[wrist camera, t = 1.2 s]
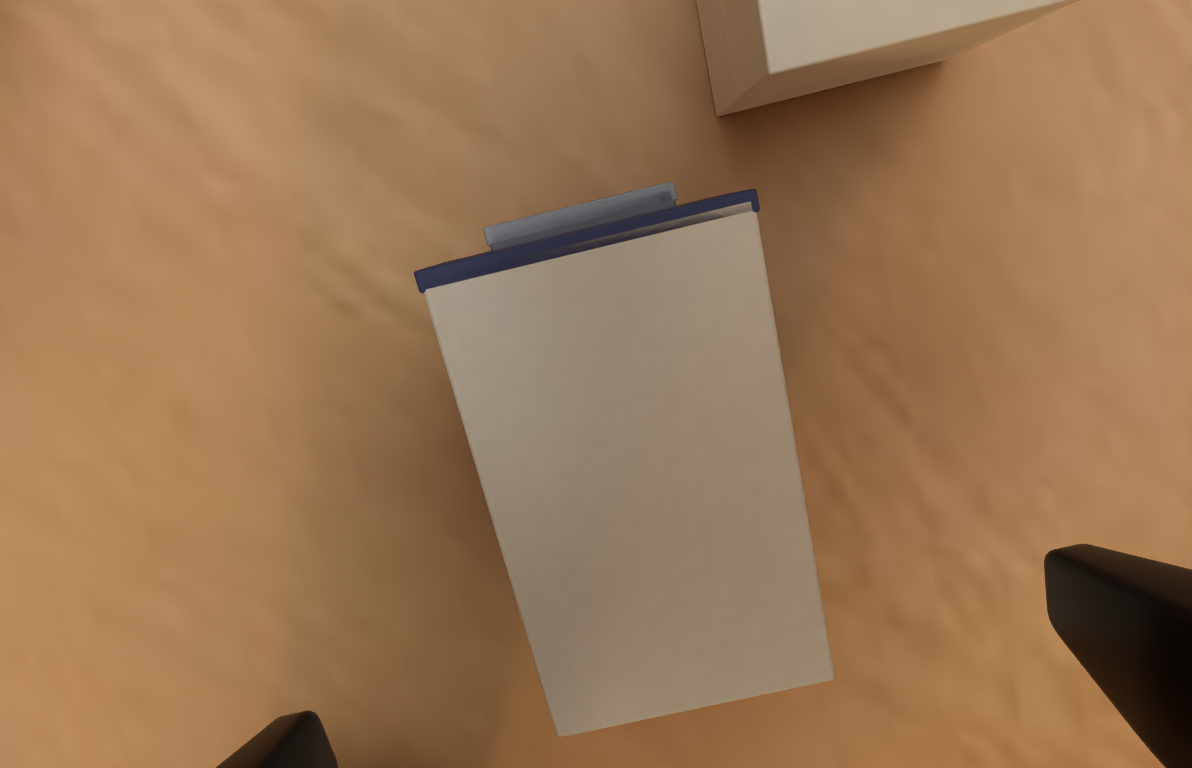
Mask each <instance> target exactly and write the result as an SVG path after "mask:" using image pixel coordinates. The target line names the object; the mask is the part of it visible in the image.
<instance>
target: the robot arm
mask: <svg viewBox="0 0 1192 768" xmlns="http://www.w3.org/2000/svg"><path fill="white" fill-rule="evenodd" d="M1044 570H1045V585H1046V599H1047V611H1048V615H1049V619H1050V621H1051V624H1052V626H1053V627H1054V629H1055V631H1056V632H1057V634H1058V635H1059V636H1060V638H1061V639H1062V640H1063V642H1064V643H1065V644H1066V645H1067V647H1068V648H1069V649H1070V650H1071V652H1072V653H1073V654H1074V655H1075V657H1076V658H1077V659H1078V661H1079V662H1080V663H1081V664H1082V666H1083V667H1084V668H1085V669H1086V671H1087V672H1088V673H1089V674H1090V676H1091V677H1092V678H1093V680H1094V681H1095V682H1096V683H1097V685H1098V686H1099V687H1100V688H1101V690H1102V691H1103V692H1104V693H1105V695H1106V696H1107V697H1108V699H1109V700H1110V701H1111V702H1112V704H1113V705H1114V706H1115V707H1116V709H1117V710H1118V711H1119V712H1120V714H1121V715H1122V716H1123V718H1124V719H1125V720H1126V721H1127V723H1128V724H1129V725H1130V726H1131V728H1132V729H1133V730H1134V731H1135V733H1136V734H1137V735H1138V736H1139V737H1140V739H1141V740H1142V741H1143V742H1144V743H1145V745H1146V746H1147V747H1148V748H1149V749H1150V751H1151V752H1152V753H1153V754H1154V755H1155V756H1156V758H1157V759H1158V760H1159V761H1160V762H1161V763H1162V764H1163V765H1164V766H1165V767H1166V768H1192V570H1191V569H1187V568H1183V567H1179V566H1175V565H1171V564H1166V563H1162V562H1158V561H1154V560H1150V559H1146V558H1142V557H1138V556H1134V555H1130V554H1126V553H1121V552H1117V551H1113V550H1109V549H1105V548H1101V547H1097V546H1093V545H1088V544H1077V545H1073V546H1068V547H1064V548H1059V549H1054V550H1051V551H1050V552H1048V553H1047V555H1046V557H1045V560H1044ZM216 768H338V764H337V760H336V758H335V755H334V753H333V750H332V748H331V745H330V743H329V740H328V738H327V735H326V733H325V730H324V728H323V725H322V723H321V721H320V719H319V717H318V715H317V714H316V713H314V712H312V711H303V712H299V713H294V714H289V715H285V716H281V717H279V718H277V719H276V720H274V721H273V722H272V723H271V724H269V725H268V726H267V727H266V728H264V729H263V730H262V731H261V732H259V733H258V734H257V735H256V736H254V737H253V738H252V739H251V740H250V741H248V742H247V743H246V744H245V745H243V746H242V747H241V748H240V749H238V750H237V751H236V752H235V753H233V754H232V755H231V756H230V757H229V758H227V759H226V760H225V761H224V762H222V763H221V764H220V765H219V766H217V767H216Z"/></svg>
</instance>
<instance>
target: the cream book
mask: <svg viewBox="0 0 1192 768" xmlns="http://www.w3.org/2000/svg"><path fill="white" fill-rule="evenodd" d="M759 210H760V208H759V202H758V196H757V191H756V189H750V190H744V191H739V192H734V193H729V194H723V195H719V196H715V197H711V198H707V199H703V200H699V201H695V202H691V203H686V204H682V205H678V206H674V207H670V208H666V209H662V210H658V211H654V212H649V213H645V214H641V215H637V216H633V217H629V218H625V219H621V220H617V221H612V222H608V223H604V224H600V225H596V226H592V227H588V228H584V229H580V230H575V231H571V232H567V233H563V234H559V235H555V236H551V237H547V238H543V239H539V240H534V241H530V242H526V243H522V244H518V245H514V246H510V247H506V248H502V249H497V250H493V251H489V252H485V253H481V254H477V255H473V256H469V257H465V258H460V259H456V260H452V261H448V262H444V263H441V264H437V265H434V266H431V267H427V268H424V269H421V270H417V271H415V272H414V275H415V279H416V282H417V285H418V289H419V291H420V293H424V296H425V300H426V303H427V306H428V310H429V313H430V316H431V320H432V323H433V326H434V330H435V333H436V336H437V340H438V343H439V346H440V350H441V353H442V356H443V359H444V363H445V366H446V369H447V373H448V376H449V379H450V383H451V386H452V389H453V393H454V396H455V399H456V403H457V406H458V409H459V413H460V416H461V419H462V422H463V426H464V429H465V432H466V436H467V439H468V442H469V446H470V449H471V452H472V456H473V459H474V462H475V466H476V469H477V472H478V475H479V479H480V482H481V485H482V489H483V492H484V495H485V499H486V502H487V505H488V509H489V512H490V515H491V519H492V522H493V525H494V529H495V532H496V535H497V538H498V542H499V545H500V548H501V552H502V555H503V558H504V562H505V565H506V568H507V572H508V575H509V578H510V582H511V585H512V588H513V592H514V595H515V598H516V601H517V605H518V608H519V611H520V615H521V618H522V621H523V625H524V628H525V631H526V635H527V638H528V641H529V645H530V648H531V651H532V655H533V658H534V661H535V664H536V668H537V671H538V674H539V678H540V681H541V684H542V688H543V691H544V694H545V698H546V701H547V704H548V708H549V711H550V714H551V717H552V721H553V724H554V727H555V731H556V734H557V736H558V737H564V736H569V735H574V734H579V733H583V732H588V731H593V730H598V729H602V728H607V727H612V726H617V725H621V724H626V723H631V722H636V721H640V720H645V719H650V718H655V717H660V716H664V715H669V714H674V713H679V712H683V711H688V710H693V709H698V708H702V707H707V706H712V705H717V704H721V703H726V702H731V701H736V700H740V699H745V698H750V697H755V696H759V695H764V694H769V693H774V692H778V691H783V690H788V689H793V688H797V687H802V686H807V685H812V684H816V683H821V682H826V681H831V680H833V679H834V669H833V663H832V657H831V651H830V645H829V639H828V633H827V627H826V621H825V615H824V609H823V603H822V598H821V592H820V586H819V580H818V574H817V568H816V562H815V556H814V550H813V544H812V538H811V532H810V526H809V520H808V514H807V508H806V502H805V496H804V491H803V485H802V479H801V473H800V467H799V461H798V455H797V449H796V443H795V437H794V431H793V425H792V419H791V413H790V407H789V401H788V395H787V390H786V384H785V378H784V372H783V366H782V360H781V354H780V348H779V342H778V336H777V330H776V324H775V318H774V312H773V306H772V300H771V294H770V288H769V283H768V277H767V271H766V265H765V259H764V253H763V247H762V241H761V235H760V229H759V223H758V217H757V212H758V211H759Z"/></svg>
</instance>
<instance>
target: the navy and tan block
mask: <svg viewBox="0 0 1192 768" xmlns="http://www.w3.org/2000/svg"><path fill="white" fill-rule="evenodd" d="M1076 1H1078V0H696V3H697V9H698V15H699V20H700V26H701V32H702V37H703V43H704V49H705V54H706V60H707V65H708V71H709V77H710V82H711V88H712V94H713V99H714V105H715V111H716V115H717V116H722V115H726V114H730V113H734V112H738V111H742V110H746V109H750V108H754V107H758V106H762V105H766V104H770V103H775V102H779V101H783V100H787V99H791V98H795V97H799V96H803V95H807V94H811V93H815V92H819V91H823V90H827V89H831V88H835V87H839V86H843V85H847V84H851V83H855V82H859V81H863V80H867V79H871V78H875V77H879V76H883V75H887V74H891V73H895V72H899V71H903V70H907V69H911V68H915V67H919V66H923V65H927V64H931V63H935V62H939V61H944V60H946V59H948V58H951V57H953V56H955V55H957V54H960V53H962V52H964V51H966V50H969V49H971V48H973V47H975V46H978V45H980V44H982V43H984V42H986V41H989V40H991V39H993V38H995V37H998V36H1000V35H1002V34H1004V33H1007V32H1009V31H1011V30H1013V29H1016V28H1018V27H1020V26H1022V25H1025V24H1027V23H1029V22H1031V21H1034V20H1036V19H1038V18H1040V17H1043V16H1045V15H1047V14H1049V13H1052V12H1054V11H1056V10H1058V9H1060V8H1063V7H1065V6H1067V5H1069V4H1072V3H1074V2H1076Z"/></svg>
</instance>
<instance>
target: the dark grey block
mask: <svg viewBox="0 0 1192 768" xmlns="http://www.w3.org/2000/svg"><path fill="white" fill-rule="evenodd" d="M676 200H677V195H676V190H675V185H674V182H668V183H664V184H660V185H655V186H651V187H647V188H643V189H639V190H635V191H631V192H627V193H623V194H619V195H615V196H611V197H607V198H602V199H598V200H594V201H590V202H586V203H582V204H578V205H574V206H570V207H566V208H562V209H558V210H553V211H549V212H545V213H541V214H537V215H533V216H529V217H525V218H521V219H517V220H513V221H509V222H504V223H500V224H496V225H492V226H488V227H485V228H484V234H485V238H486V241H487V245H488V246H490V247H491V251H493V250H497V249H502V248H506V247H510V246H514V245H518V244H522V243H526V242H530V241H534V240H539V239H543V238H547V237H551V236H555V235H559V234H563V233H567V232H571V231H575V230H580V229H584V228H588V227H592V226H596V225H600V224H604V223H608V222H612V221H617V220H621V219H625V218H629V217H633V216H637V215H641V214H645V213H649V212H654V211H658V210H662V209H666V208H670V207H674V206H676V203H675V201H676Z"/></svg>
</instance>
